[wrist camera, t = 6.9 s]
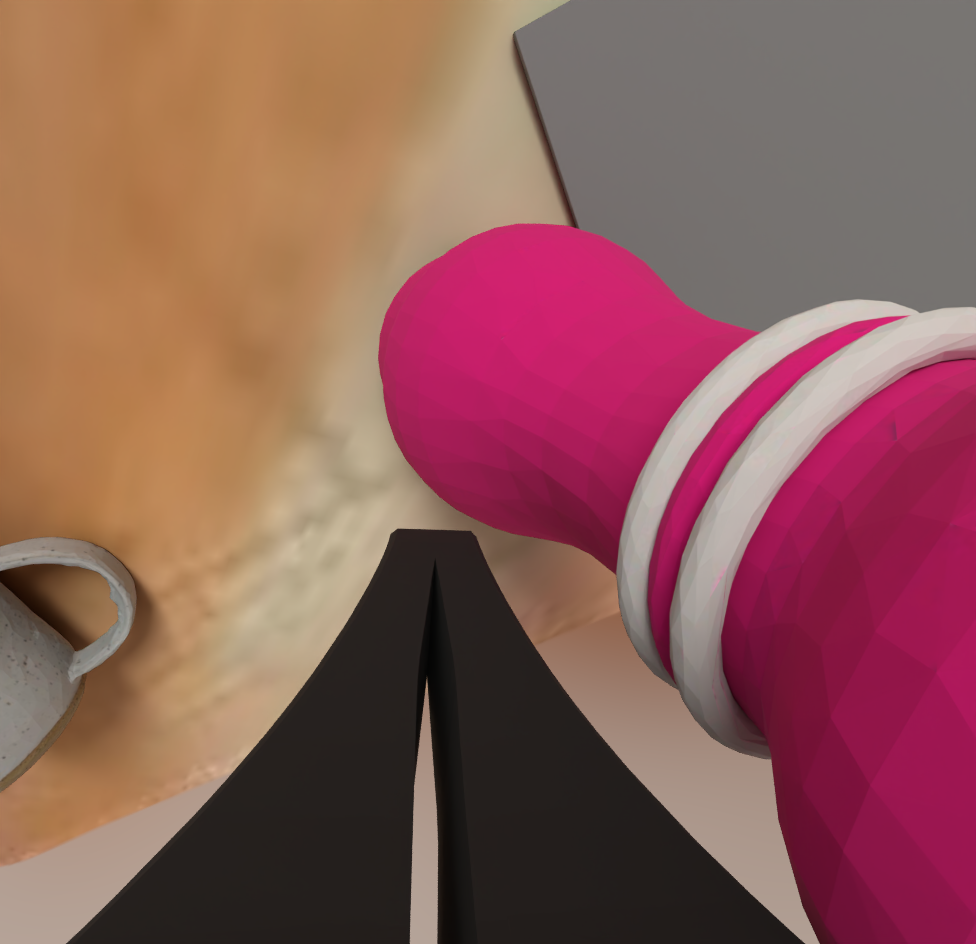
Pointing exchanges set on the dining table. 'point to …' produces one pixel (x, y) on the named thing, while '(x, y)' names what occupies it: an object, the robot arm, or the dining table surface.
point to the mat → (769, 146)
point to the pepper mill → (739, 530)
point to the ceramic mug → (49, 653)
